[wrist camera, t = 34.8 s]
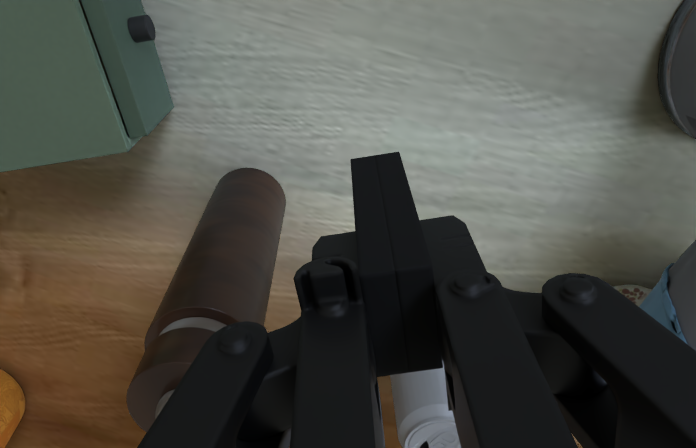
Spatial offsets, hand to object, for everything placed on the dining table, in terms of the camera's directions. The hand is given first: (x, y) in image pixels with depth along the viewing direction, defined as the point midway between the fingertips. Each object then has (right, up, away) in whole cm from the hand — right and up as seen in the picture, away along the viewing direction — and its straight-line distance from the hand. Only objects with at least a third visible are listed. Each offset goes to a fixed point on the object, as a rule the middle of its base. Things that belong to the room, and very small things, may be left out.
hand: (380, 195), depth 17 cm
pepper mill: (-9, +1, +29) cm, 31 cm away
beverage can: (+6, -13, +37) cm, 39 cm away
